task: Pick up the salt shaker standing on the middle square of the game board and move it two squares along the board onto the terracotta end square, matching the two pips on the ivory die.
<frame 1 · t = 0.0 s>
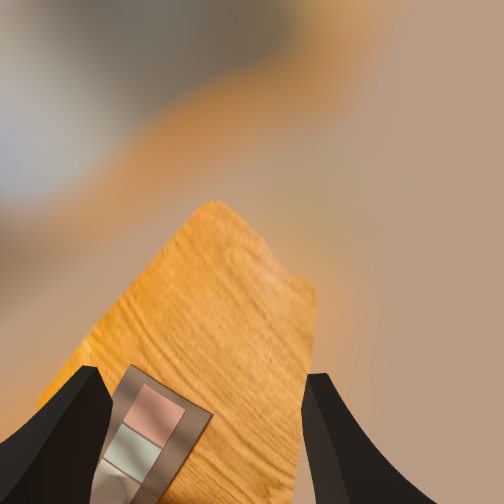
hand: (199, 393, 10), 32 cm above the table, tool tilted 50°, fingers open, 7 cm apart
game board: (113, 486, 33), on the table
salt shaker: (112, 486, 33), resting on game board
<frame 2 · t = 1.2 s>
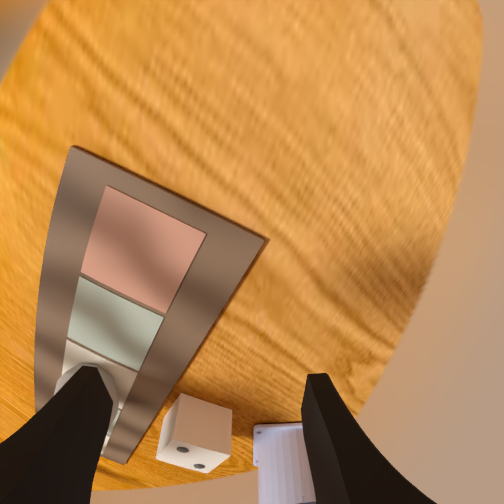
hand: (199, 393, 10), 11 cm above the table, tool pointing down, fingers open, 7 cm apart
game board: (96, 374, 25), on the table
die: (196, 413, 27), on the table
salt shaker: (96, 376, 25), resting on game board
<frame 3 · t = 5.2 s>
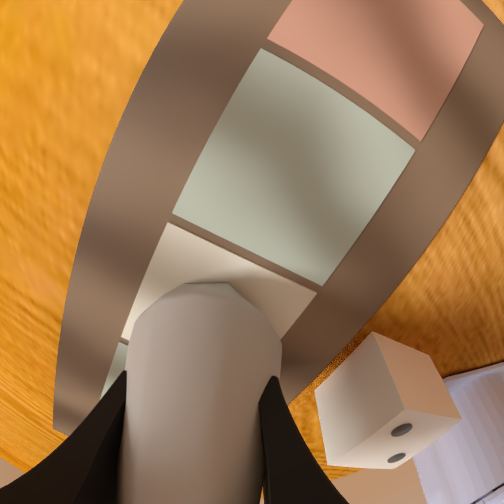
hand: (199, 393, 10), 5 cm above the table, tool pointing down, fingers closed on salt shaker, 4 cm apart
game board: (210, 313, 14), on the table
die: (373, 373, 16), on the table
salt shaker: (210, 316, 14), resting on game board, touching gripper
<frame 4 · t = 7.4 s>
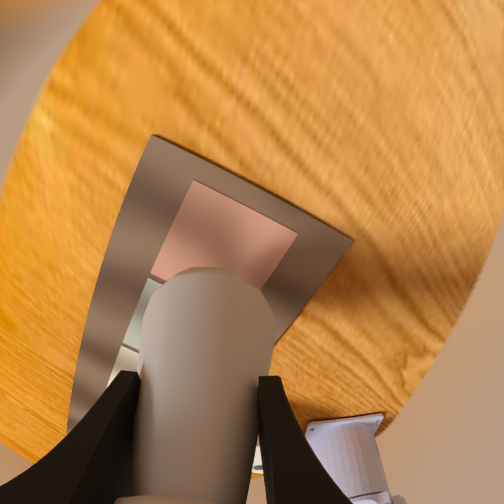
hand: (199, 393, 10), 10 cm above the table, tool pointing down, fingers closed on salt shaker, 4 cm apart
game board: (149, 381, 25), on the table
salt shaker: (213, 297, 16), point 4 cm above the table, touching gripper
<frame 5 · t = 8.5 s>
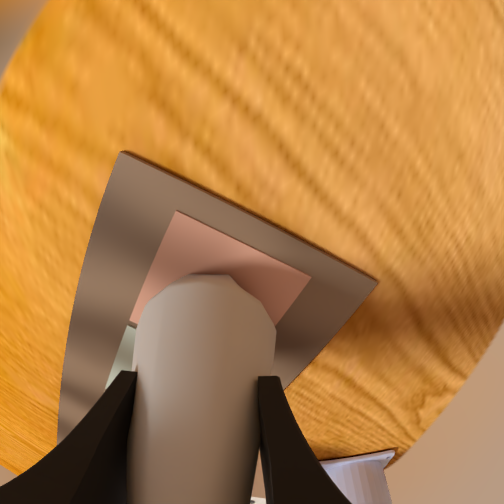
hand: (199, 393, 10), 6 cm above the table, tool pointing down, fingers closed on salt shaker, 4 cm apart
game board: (139, 424, 21), on the table
die: (253, 456, 23), on the table
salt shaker: (210, 305, 15), resting on game board, touching gripper
when the fingers open (6 cm above the table, at t = 9.0 s): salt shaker stays where it is, resting on game board.
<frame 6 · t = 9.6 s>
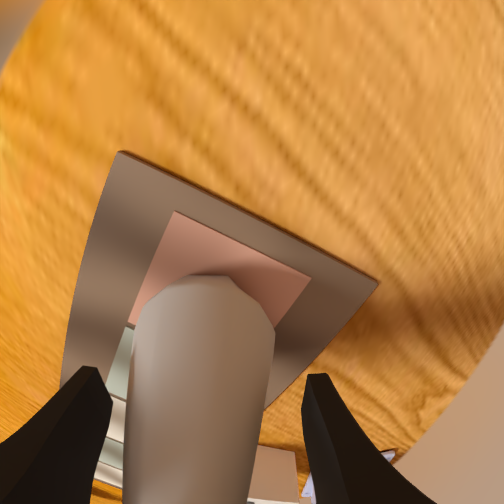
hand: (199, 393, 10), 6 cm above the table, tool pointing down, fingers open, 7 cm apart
game board: (138, 425, 21), on the table
die: (253, 457, 23), on the table
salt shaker: (209, 306, 15), resting on game board
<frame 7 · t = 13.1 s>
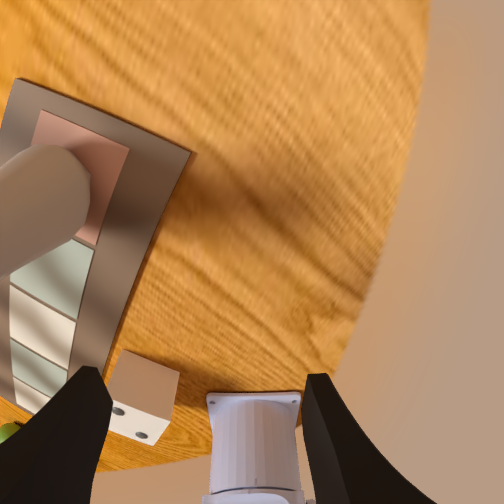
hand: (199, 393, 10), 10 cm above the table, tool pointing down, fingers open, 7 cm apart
green ball handle toy: (22, 428, 32), on the table
game board: (40, 327, 22), on the table
die: (143, 376, 25), on the table
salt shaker: (65, 183, 17), resting on game board
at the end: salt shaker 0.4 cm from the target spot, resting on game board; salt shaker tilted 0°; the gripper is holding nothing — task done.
